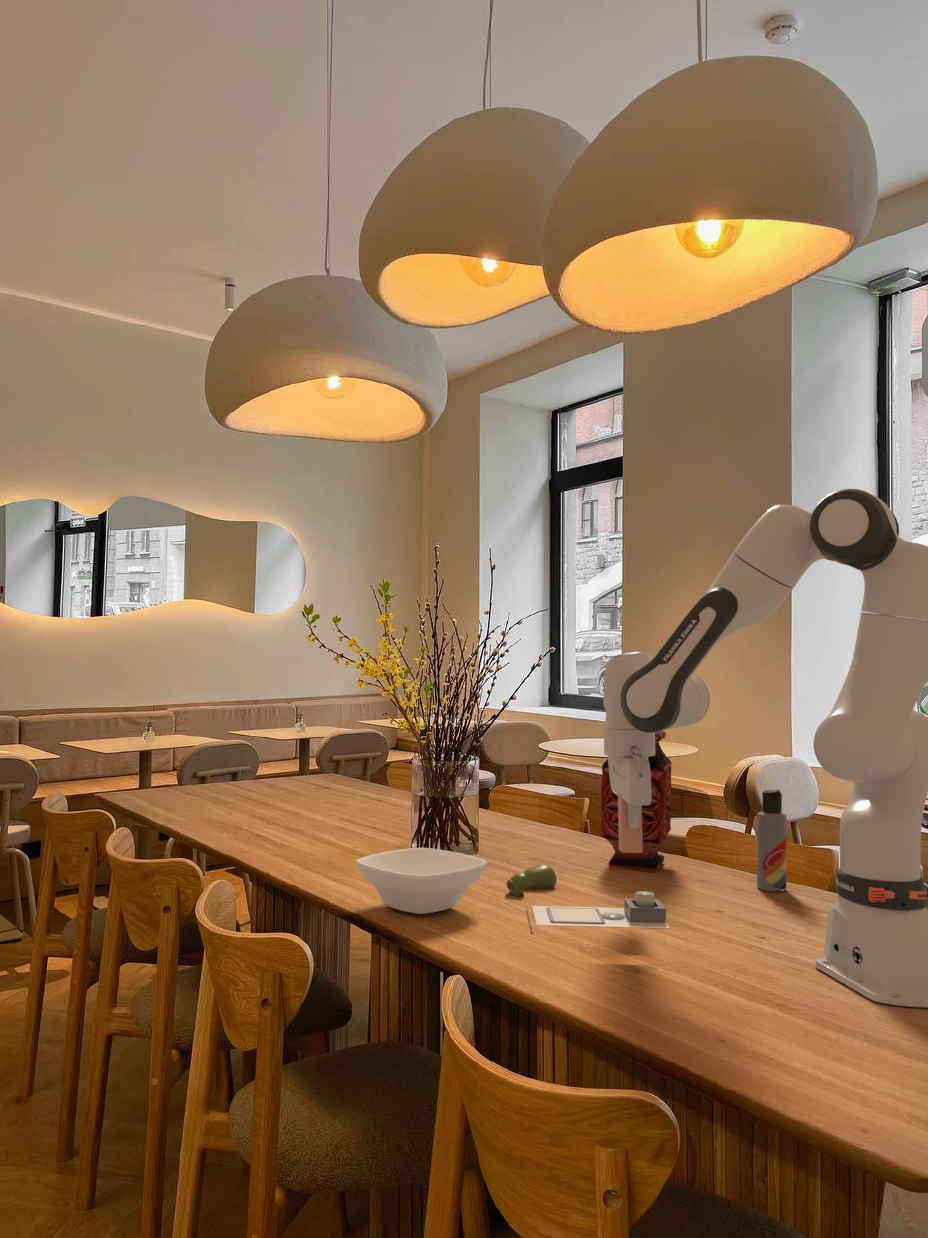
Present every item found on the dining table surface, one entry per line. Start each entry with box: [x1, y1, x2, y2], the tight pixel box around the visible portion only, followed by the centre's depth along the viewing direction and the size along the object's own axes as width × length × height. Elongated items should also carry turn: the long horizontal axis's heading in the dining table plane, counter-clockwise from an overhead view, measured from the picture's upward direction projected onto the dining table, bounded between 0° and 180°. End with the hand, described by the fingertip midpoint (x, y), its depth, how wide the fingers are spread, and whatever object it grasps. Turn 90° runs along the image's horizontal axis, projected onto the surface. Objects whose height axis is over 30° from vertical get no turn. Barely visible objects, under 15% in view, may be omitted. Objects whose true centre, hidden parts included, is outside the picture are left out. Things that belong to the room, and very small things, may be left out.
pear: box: [506, 864, 557, 897], centre depth 178 cm, size 6×5×10 cm
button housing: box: [623, 898, 667, 924], centre depth 157 cm, size 6×6×2 cm
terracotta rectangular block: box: [618, 792, 643, 853], centre depth 158 cm, size 4×4×12 cm
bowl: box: [354, 847, 489, 915], centre depth 165 cm, size 21×21×9 cm
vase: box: [600, 730, 672, 873], centre depth 205 cm, size 14×14×30 cm
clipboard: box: [525, 905, 670, 935], centre depth 157 cm, size 14×24×1 cm, turn 90°
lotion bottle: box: [756, 789, 788, 892], centre depth 185 cm, size 6×6×20 cm
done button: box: [634, 890, 655, 907], centre depth 157 cm, size 3×3×2 cm
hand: (630, 825), depth 158 cm, fingers closed on terracotta rectangular block, 3 cm apart
